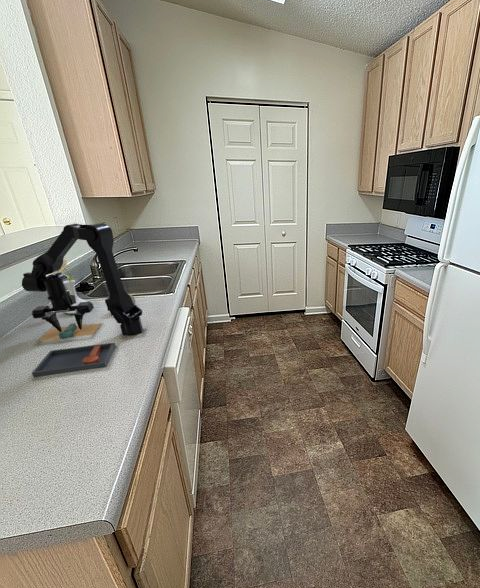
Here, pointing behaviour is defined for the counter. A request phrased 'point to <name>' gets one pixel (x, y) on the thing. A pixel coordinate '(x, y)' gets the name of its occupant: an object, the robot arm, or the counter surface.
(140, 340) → the counter surface
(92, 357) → the terracotta spoon
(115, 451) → the counter surface
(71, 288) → the flower in vase
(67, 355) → the tray
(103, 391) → the counter surface
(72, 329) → the teal spoon
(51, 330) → the cork mat
